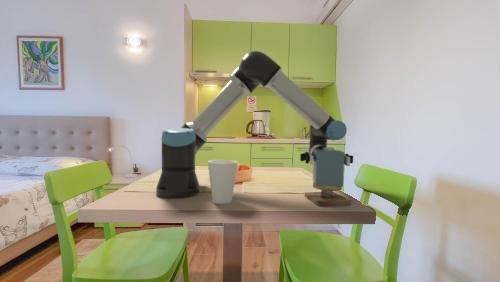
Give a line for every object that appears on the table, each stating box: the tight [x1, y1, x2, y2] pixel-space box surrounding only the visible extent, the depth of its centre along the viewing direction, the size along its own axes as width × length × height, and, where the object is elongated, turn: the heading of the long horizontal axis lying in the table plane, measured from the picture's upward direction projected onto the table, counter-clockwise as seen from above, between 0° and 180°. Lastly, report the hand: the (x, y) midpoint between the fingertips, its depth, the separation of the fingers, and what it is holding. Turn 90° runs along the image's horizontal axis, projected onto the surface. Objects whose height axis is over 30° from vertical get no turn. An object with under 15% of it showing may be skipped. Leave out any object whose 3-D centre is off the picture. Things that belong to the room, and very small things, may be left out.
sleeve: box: [312, 149, 345, 187], centre depth 80 cm, size 8×8×11 cm
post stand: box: [304, 146, 352, 207], centre depth 80 cm, size 11×11×18 cm
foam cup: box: [207, 159, 238, 205], centre depth 78 cm, size 10×9×13 cm
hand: (330, 161), depth 76 cm, fingers open, 10 cm apart
